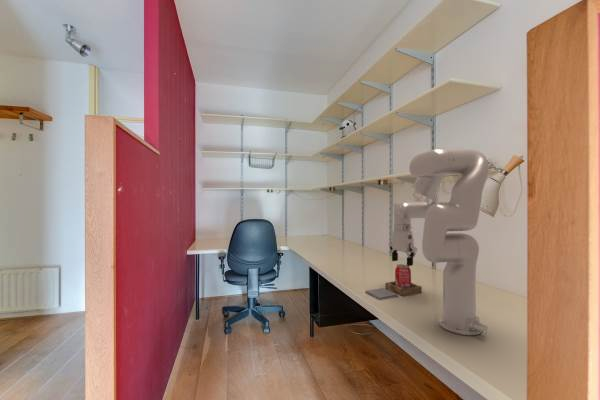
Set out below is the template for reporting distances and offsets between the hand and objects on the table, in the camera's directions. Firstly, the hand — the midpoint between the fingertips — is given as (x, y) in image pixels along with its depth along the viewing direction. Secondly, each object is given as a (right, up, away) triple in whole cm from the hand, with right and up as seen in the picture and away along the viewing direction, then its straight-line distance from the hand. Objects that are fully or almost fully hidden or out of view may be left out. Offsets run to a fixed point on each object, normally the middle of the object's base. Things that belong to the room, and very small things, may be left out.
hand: (402, 263), depth 128 cm
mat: (-12, -13, -6) cm, 19 cm away
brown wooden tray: (0, -13, -1) cm, 13 cm away
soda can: (0, -13, -1) cm, 13 cm away
